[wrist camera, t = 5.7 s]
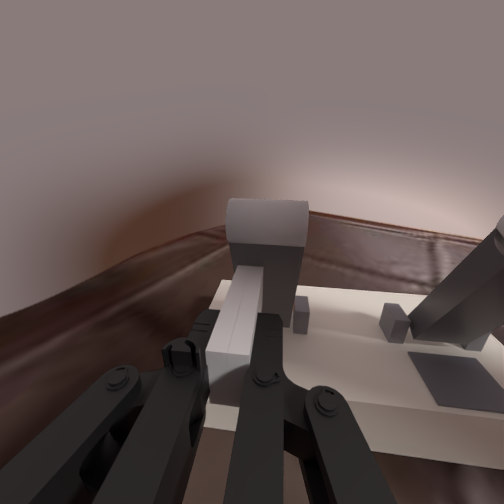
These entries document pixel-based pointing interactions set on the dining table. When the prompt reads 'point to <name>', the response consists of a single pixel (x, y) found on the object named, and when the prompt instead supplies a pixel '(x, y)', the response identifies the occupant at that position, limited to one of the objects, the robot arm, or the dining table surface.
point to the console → (392, 376)
